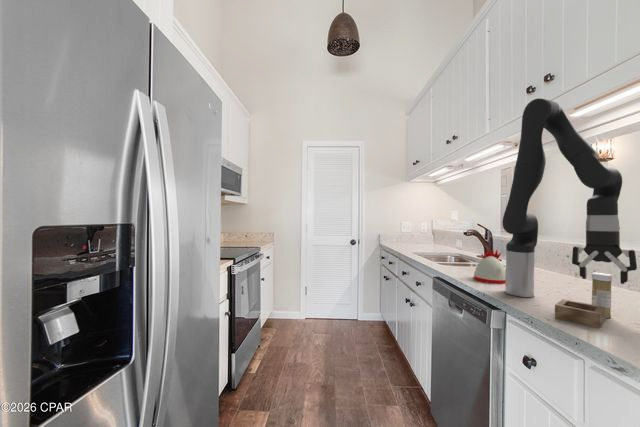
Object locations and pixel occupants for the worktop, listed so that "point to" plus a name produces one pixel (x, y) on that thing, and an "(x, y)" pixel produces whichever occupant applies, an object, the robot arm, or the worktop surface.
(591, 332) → the worktop surface
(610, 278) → the sprinkles bottle
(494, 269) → the white rounded dome
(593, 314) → the walnut holder
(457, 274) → the worktop surface
